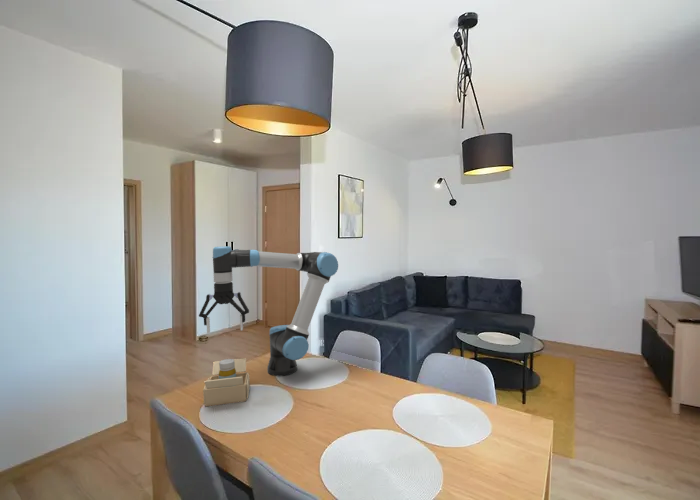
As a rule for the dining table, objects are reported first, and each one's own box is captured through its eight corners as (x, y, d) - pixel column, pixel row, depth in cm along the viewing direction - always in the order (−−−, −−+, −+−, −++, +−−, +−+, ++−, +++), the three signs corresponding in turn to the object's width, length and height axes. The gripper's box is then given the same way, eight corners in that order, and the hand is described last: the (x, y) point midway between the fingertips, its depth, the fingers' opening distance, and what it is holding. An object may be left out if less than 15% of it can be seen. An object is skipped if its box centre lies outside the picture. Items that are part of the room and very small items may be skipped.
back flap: (246, 358, 159) (246, 358, 159) (213, 361, 155) (213, 361, 156) (245, 371, 155) (245, 371, 155) (212, 375, 151) (212, 375, 152)
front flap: (204, 380, 134) (204, 381, 134) (242, 376, 137) (242, 377, 137) (206, 387, 138) (206, 388, 138) (243, 383, 142) (243, 384, 141)
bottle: (217, 399, 143) (215, 364, 143) (223, 391, 150) (222, 358, 150) (233, 399, 143) (231, 364, 143) (239, 391, 150) (237, 358, 150)
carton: (249, 387, 156) (249, 372, 155) (247, 401, 142) (247, 384, 142) (209, 392, 152) (208, 376, 151) (203, 407, 138) (202, 390, 138)
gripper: (253, 279, 151) (255, 326, 152) (193, 282, 146) (196, 331, 147) (253, 281, 144) (254, 330, 145) (189, 285, 138) (192, 336, 139)
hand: (225, 331), depth 146 cm, fingers open, 13 cm apart
